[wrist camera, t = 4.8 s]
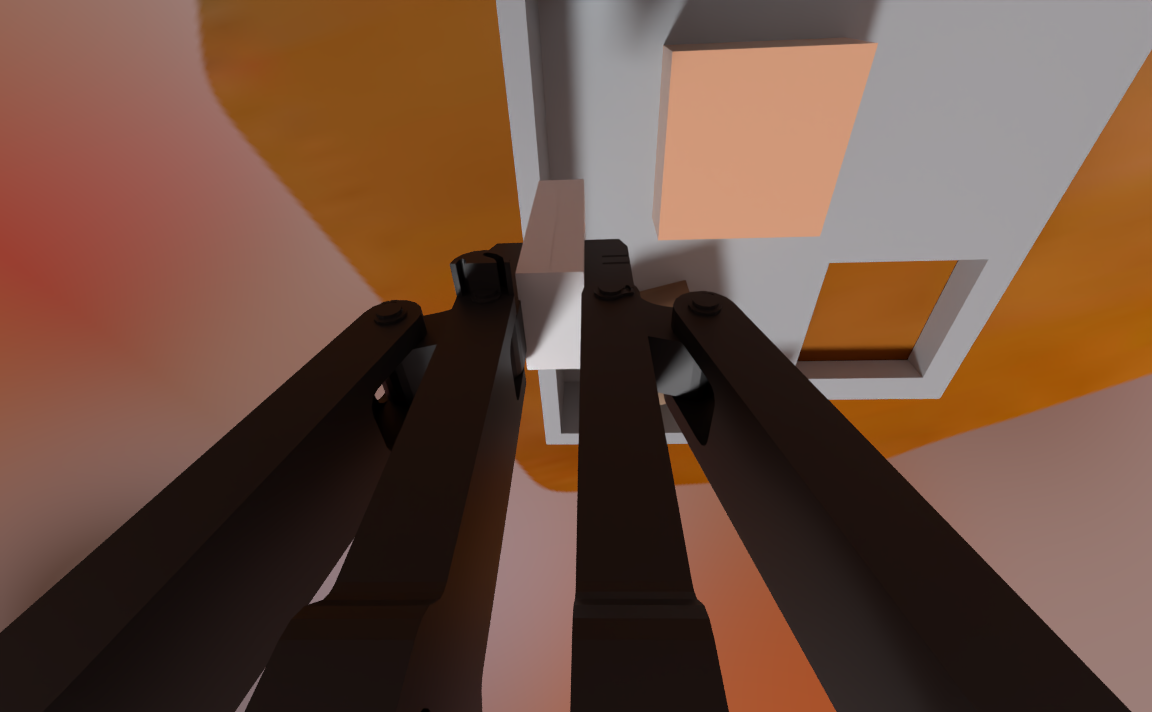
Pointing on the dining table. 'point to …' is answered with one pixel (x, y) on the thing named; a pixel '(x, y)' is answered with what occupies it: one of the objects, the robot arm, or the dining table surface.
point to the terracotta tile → (754, 135)
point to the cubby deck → (871, 162)
